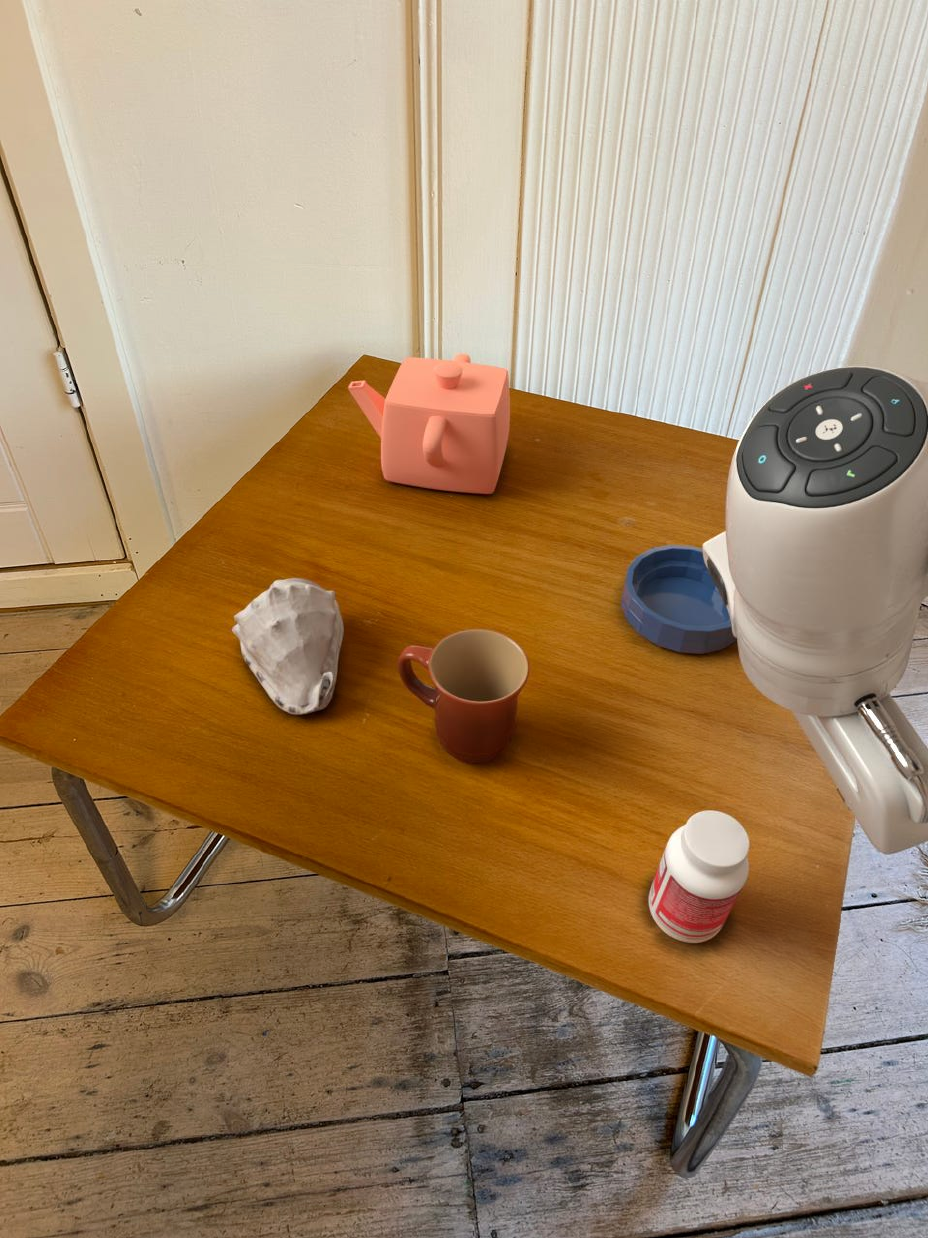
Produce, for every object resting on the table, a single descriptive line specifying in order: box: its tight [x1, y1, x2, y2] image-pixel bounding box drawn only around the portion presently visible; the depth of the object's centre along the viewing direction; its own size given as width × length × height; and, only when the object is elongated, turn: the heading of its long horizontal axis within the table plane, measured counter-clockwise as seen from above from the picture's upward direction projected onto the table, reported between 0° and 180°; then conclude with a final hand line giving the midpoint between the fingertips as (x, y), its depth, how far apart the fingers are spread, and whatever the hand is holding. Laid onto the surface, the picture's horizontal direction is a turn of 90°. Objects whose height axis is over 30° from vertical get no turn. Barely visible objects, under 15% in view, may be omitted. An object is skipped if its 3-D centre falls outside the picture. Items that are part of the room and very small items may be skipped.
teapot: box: [347, 352, 511, 495], centre depth 108 cm, size 20×22×14 cm
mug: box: [397, 628, 530, 764], centre depth 78 cm, size 12×9×10 cm
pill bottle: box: [648, 809, 751, 944], centre depth 66 cm, size 6×6×11 cm
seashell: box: [231, 577, 345, 715], centre depth 84 cm, size 12×14×10 cm
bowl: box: [620, 544, 737, 654], centre depth 93 cm, size 13×14×4 cm
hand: (817, 734), depth 58 cm, fingers open, 8 cm apart
